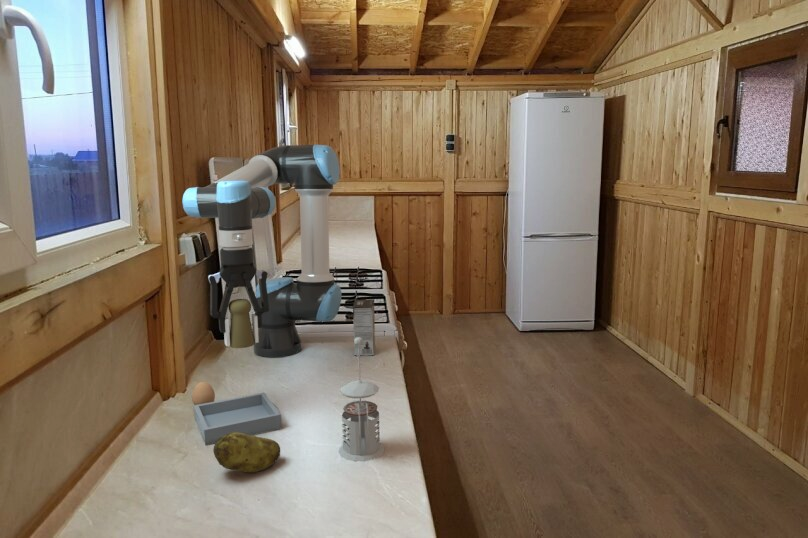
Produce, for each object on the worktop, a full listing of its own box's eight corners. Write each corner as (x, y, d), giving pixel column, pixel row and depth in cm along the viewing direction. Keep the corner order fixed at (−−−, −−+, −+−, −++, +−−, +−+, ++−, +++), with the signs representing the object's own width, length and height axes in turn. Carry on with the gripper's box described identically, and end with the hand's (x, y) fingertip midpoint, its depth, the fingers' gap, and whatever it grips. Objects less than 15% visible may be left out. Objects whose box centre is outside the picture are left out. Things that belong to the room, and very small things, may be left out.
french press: (381, 437, 137) (379, 329, 132) (389, 463, 125) (386, 345, 121) (336, 441, 135) (333, 332, 130) (340, 467, 124) (336, 349, 119)
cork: (258, 341, 150) (256, 297, 148) (249, 348, 144) (247, 302, 142) (234, 340, 151) (231, 296, 149) (224, 347, 145) (222, 302, 143)
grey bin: (265, 405, 155) (264, 392, 154) (281, 428, 142) (280, 414, 141) (194, 419, 147) (193, 405, 147) (205, 445, 134) (204, 430, 133)
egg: (209, 402, 157) (207, 376, 156) (219, 408, 153) (217, 382, 152) (189, 409, 153) (186, 382, 152) (199, 415, 149) (197, 388, 148)
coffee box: (355, 347, 200) (354, 299, 197) (375, 346, 200) (374, 299, 197) (353, 356, 191) (352, 306, 188) (374, 356, 191) (373, 306, 188)
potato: (282, 475, 121) (280, 437, 120) (214, 484, 118) (211, 445, 117) (280, 455, 129) (278, 419, 128) (216, 463, 126) (213, 427, 125)
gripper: (196, 252, 136) (203, 353, 140) (280, 246, 144) (284, 341, 148) (191, 248, 142) (198, 344, 146) (272, 243, 151) (276, 334, 155)
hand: (241, 342), depth 147 cm, fingers closed on cork, 6 cm apart
